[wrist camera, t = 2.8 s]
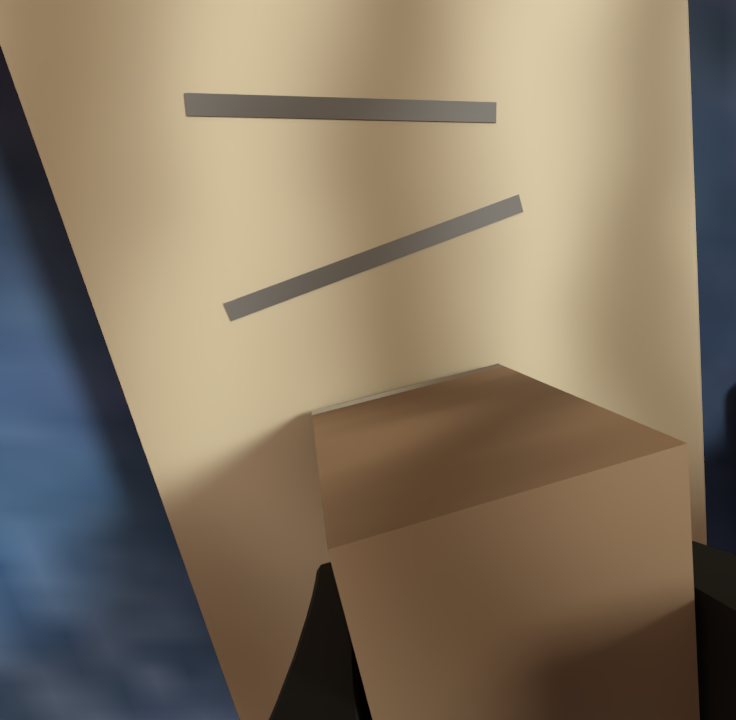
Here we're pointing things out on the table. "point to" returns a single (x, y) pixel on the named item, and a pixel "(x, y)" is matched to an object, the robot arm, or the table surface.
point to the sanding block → (510, 553)
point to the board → (359, 239)
